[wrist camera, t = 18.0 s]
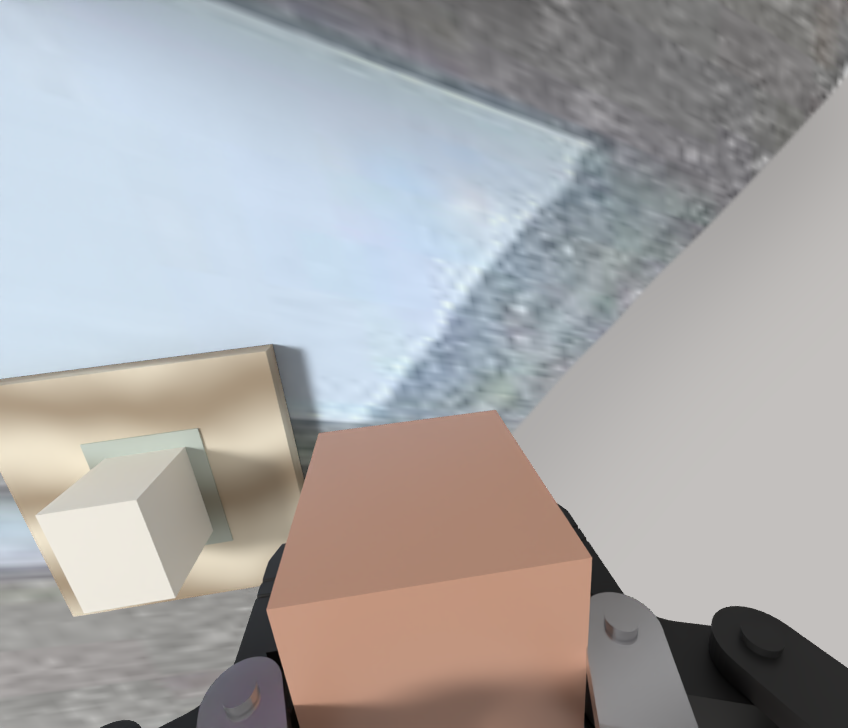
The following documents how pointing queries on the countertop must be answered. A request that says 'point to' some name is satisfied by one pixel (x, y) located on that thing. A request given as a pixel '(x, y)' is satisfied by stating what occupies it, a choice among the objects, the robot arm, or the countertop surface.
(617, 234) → the countertop surface
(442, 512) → the terracotta brick
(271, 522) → the ash board
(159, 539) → the cream brick
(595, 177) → the countertop surface
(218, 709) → the robot arm
